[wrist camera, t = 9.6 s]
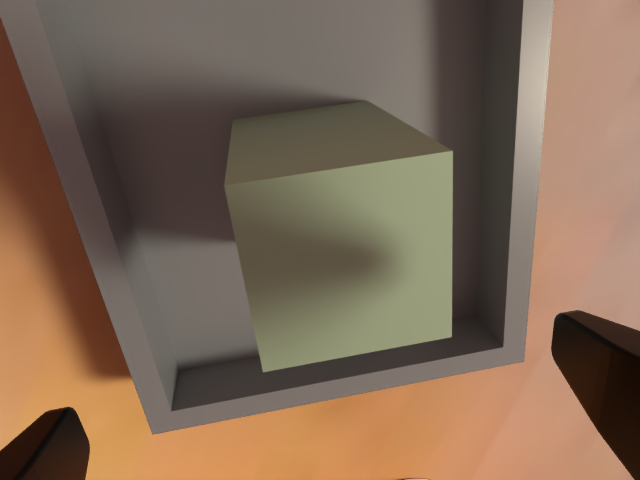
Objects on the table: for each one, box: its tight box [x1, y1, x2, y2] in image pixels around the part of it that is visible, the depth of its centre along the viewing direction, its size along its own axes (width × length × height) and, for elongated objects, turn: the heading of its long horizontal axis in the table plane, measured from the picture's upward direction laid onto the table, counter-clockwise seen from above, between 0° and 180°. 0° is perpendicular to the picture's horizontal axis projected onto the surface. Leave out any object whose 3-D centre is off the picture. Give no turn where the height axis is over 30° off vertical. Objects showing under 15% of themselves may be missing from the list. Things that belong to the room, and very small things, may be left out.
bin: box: [0, 0, 554, 435], centre depth 18 cm, size 18×16×4 cm
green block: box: [224, 101, 453, 372], centre depth 15 cm, size 5×5×8 cm
